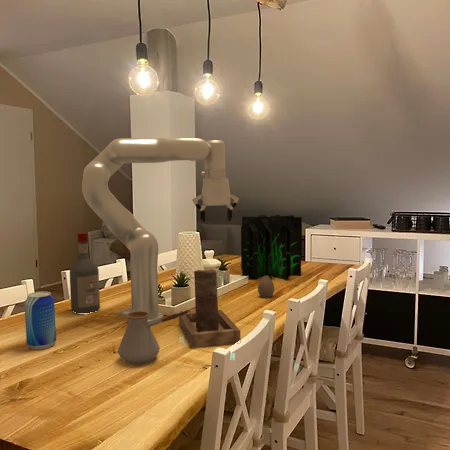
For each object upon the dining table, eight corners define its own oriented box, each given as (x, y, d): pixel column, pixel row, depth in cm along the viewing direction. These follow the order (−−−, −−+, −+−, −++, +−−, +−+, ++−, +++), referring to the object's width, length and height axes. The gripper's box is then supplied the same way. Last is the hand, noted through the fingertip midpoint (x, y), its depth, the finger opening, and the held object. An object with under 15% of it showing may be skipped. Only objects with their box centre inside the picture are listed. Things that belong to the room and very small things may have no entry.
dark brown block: (191, 332, 155) (190, 270, 153) (201, 325, 162) (200, 266, 160) (213, 334, 152) (212, 272, 150) (222, 328, 159) (221, 267, 157)
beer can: (38, 352, 142) (36, 298, 140) (20, 347, 146) (18, 295, 145) (62, 344, 149) (59, 292, 147) (44, 339, 153) (41, 289, 152)
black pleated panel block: (308, 273, 253) (309, 215, 250) (283, 284, 228) (283, 220, 225) (260, 268, 268) (259, 213, 265) (231, 277, 243) (231, 218, 240)
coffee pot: (110, 365, 131) (108, 311, 130) (129, 350, 143) (127, 300, 141) (185, 372, 126) (184, 316, 125) (198, 356, 137) (197, 304, 136)
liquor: (102, 310, 185) (99, 232, 182) (81, 316, 179) (78, 235, 176) (89, 306, 192) (86, 231, 189) (68, 311, 185) (65, 233, 182)
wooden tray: (191, 348, 144) (191, 334, 143) (178, 324, 167) (178, 313, 167) (240, 343, 148) (240, 330, 147) (221, 320, 171) (221, 309, 170)
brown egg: (273, 299, 200) (273, 278, 199) (256, 298, 202) (256, 277, 201) (275, 295, 207) (275, 274, 206) (259, 294, 208) (259, 274, 207)
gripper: (193, 174, 172) (194, 223, 174) (240, 173, 176) (241, 221, 178) (190, 175, 179) (191, 221, 181) (235, 174, 183) (236, 219, 185)
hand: (216, 221), depth 179 cm, fingers open, 9 cm apart
